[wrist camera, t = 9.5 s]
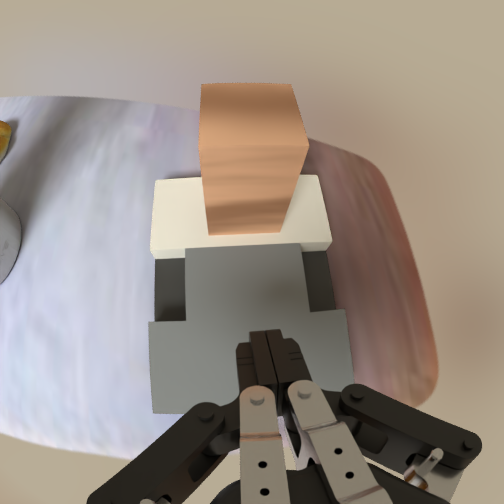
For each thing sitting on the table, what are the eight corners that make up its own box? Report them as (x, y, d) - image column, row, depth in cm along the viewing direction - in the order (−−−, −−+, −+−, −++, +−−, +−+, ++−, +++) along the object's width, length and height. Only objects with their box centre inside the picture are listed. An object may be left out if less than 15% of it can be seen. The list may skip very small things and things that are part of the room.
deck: (344, 393, 19) (355, 394, 17) (160, 409, 18) (153, 413, 16) (324, 252, 23) (332, 241, 21) (156, 260, 22) (150, 250, 20)
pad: (324, 252, 23) (332, 241, 21) (156, 260, 22) (149, 250, 20) (311, 188, 25) (317, 175, 24) (160, 194, 24) (155, 180, 22)
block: (279, 232, 21) (309, 145, 13) (208, 235, 21) (198, 146, 12) (271, 176, 23) (290, 84, 15) (207, 178, 23) (201, 84, 14)
